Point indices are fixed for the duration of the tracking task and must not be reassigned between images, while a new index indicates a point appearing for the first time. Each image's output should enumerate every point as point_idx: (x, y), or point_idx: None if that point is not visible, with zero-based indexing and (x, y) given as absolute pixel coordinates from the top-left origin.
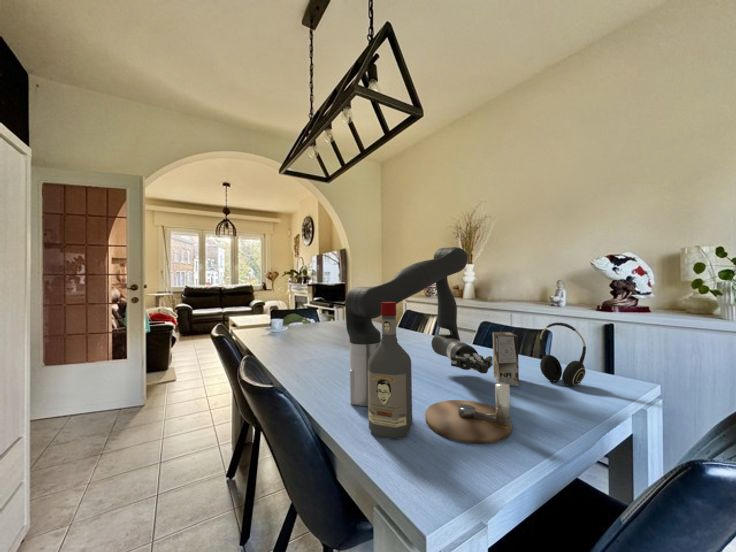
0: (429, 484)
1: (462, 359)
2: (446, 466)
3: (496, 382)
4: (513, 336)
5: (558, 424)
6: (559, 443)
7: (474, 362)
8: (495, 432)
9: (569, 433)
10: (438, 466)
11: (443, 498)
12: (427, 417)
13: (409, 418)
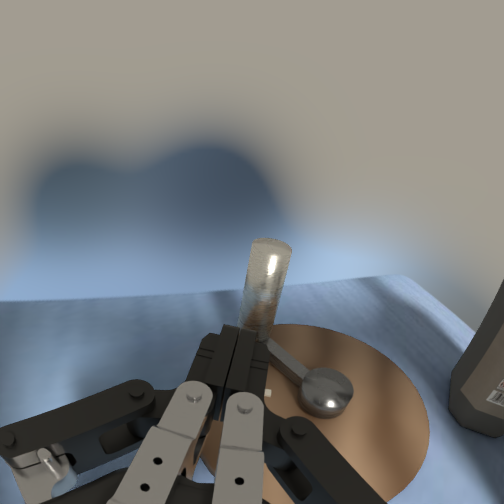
0: (406, 301)
1: (331, 463)
2: (387, 315)
3: (281, 255)
4: None
5: (90, 330)
6: (169, 300)
7: (254, 400)
8: (285, 330)
9: (113, 307)
10: (397, 318)
11: (392, 287)
12: (424, 411)
13: (462, 369)
